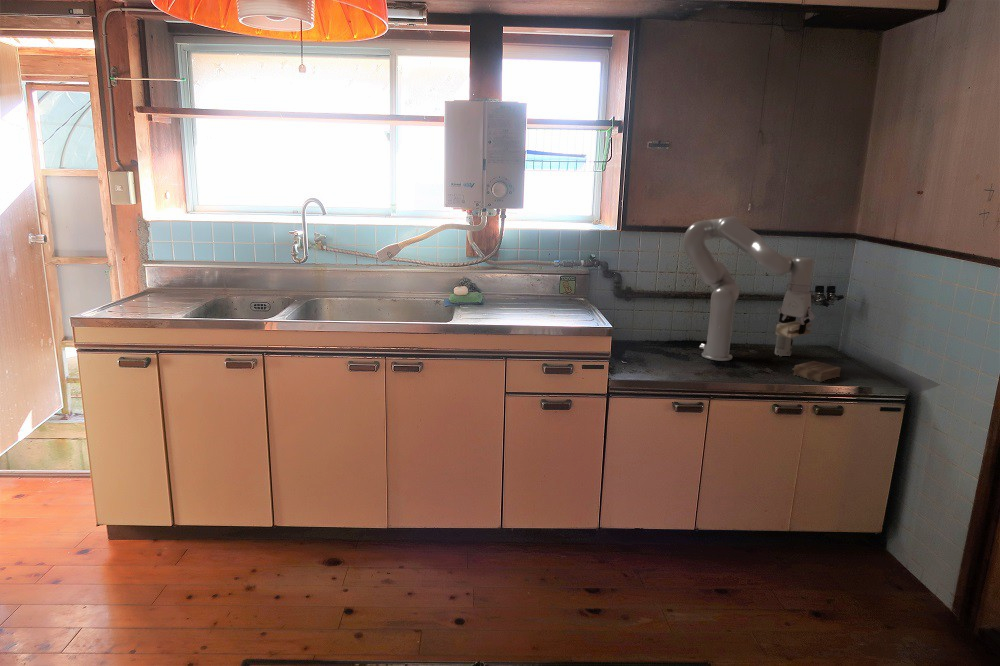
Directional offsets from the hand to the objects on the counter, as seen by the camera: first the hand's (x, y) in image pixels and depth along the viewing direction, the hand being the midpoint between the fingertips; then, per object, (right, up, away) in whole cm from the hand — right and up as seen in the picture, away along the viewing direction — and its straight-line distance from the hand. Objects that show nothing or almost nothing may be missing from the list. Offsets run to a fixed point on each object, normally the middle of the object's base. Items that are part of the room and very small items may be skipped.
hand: (793, 331), depth 264 cm
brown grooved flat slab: (+6, -18, -6) cm, 20 cm away
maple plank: (0, -1, +1) cm, 1 cm away
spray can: (+6, -11, +24) cm, 27 cm away
